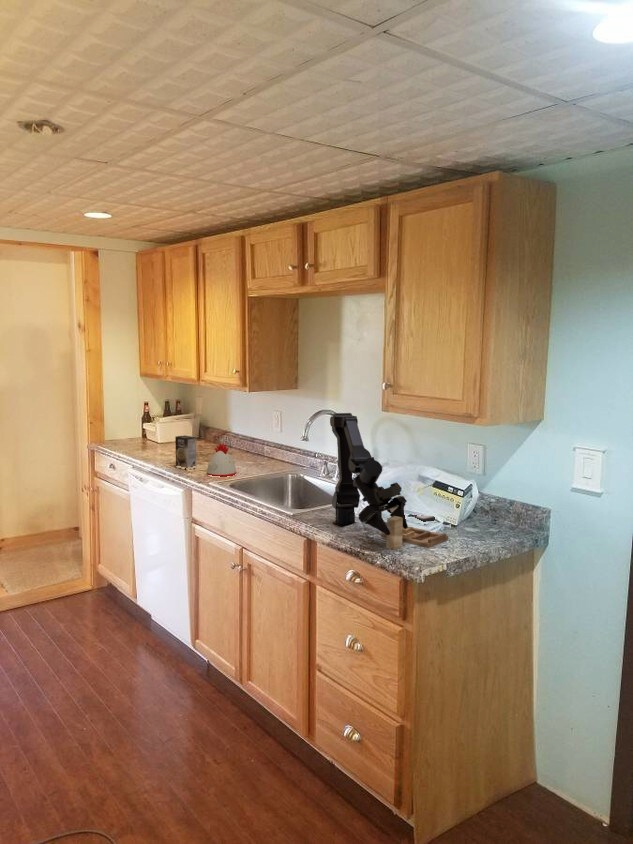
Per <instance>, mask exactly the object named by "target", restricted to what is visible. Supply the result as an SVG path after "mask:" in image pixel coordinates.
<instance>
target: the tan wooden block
mask: <svg viewBox="0 0 633 844" xmlns="http://www.w3.org/2000/svg"><path fill="white" fill-rule="evenodd" d="M386 525H387V527H388V529H389V531H390V533H391V534H390V535H387V538H386V549H389V550H393V551H396V550H398V549H401V548H403V542H402V529H403V518H402V517H397V516H393V517H391V516H390V517H387V518H386Z"/></svg>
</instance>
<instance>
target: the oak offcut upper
mask: <svg viewBox="0 0 633 844" xmlns="http://www.w3.org/2000/svg"><path fill="white" fill-rule="evenodd" d="M411 531H412V526H408V528H407V529H405V528H403V529H402V533H403V534H407V533H409V532H411Z"/></svg>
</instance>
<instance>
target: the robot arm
mask: <svg viewBox="0 0 633 844" xmlns="http://www.w3.org/2000/svg"><path fill="white" fill-rule="evenodd" d="M358 422H359V421H358V417H357V415H353V414H352V413H351V412H334V413H333V415H332V416H330V417H329V424H330V427H331V432H332V434H333V435H334V436H335V438H336V440H337V442H336V443H337V444H336V445H337V462H338V481H337V483H336V484H335V487H334V490H335V491H334V492H333V496H332V498H331V507H333V508H334V509H335V521H334V520H333V521H332V522H331V523H332V524H333V525H336V526H339V527H342V528H344V527H348V526H351V525H353V524H357V523H358V522H357V521H356V512H355V508H357V509H358V508H359V505H360V501H362V502H366V503H367V504H368V505H366V506H365V507H364V508H362V509H361V511H360V512H359V513H358V517H357V518H358V520H359V521H360V522H361V523H362V524H363V523H364V524H365V525H368V526H371V527H372V528H375V529H376V530H378V531H380V533H381V532H383V533H385V534H386V535H390V534H391V533H390V531H389V529H388V527H387V523H386V522H385V520H384V519H383V516H382V514H383V512H386V511H387V513H389V516H390V517H393V516H397V517H402V518H403V528H405V529H407V528H408V527H409V526H408V522H407V520H406V519H405V515H404V509H405V506H406V505H407V504H406V503H407V501H408V500H407V499H406V498H405V496H404V495H401V493H402V486H401V485H400V484H399V483H398V482H393V483H391V484H390V486H389V487H386V488H384V486H379V485H378V484H377V482H378V479H379V478H380V475H381V474H382V472H383V466H382V465H381V463H380V462H379V461H378V460H375V457H373V456H372V454H371V452H370V451H369V450H368V449H366V447H365V445H364V443H363V439H362V435H361V433H360V429H359V426H358V424H359V423H358ZM353 474H357V476H356V477H354V478H353ZM361 495H362V497H363V498H362V499H360V498H361Z"/></svg>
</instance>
